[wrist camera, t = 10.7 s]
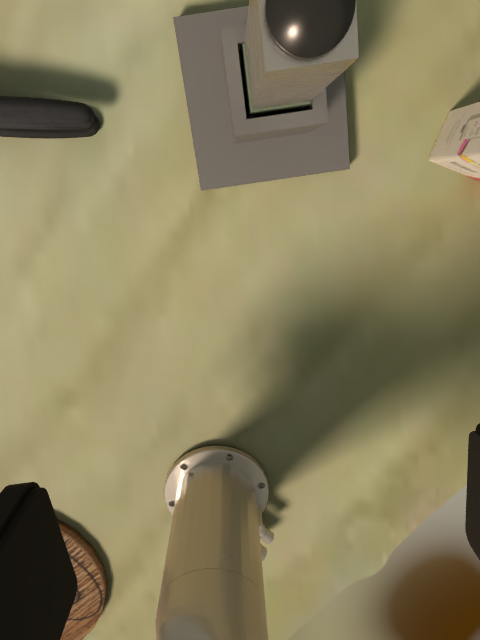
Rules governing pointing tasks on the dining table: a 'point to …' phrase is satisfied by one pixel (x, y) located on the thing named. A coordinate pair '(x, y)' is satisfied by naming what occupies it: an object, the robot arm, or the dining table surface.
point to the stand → (233, 114)
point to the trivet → (84, 585)
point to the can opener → (45, 118)
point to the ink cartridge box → (460, 142)
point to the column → (296, 51)
